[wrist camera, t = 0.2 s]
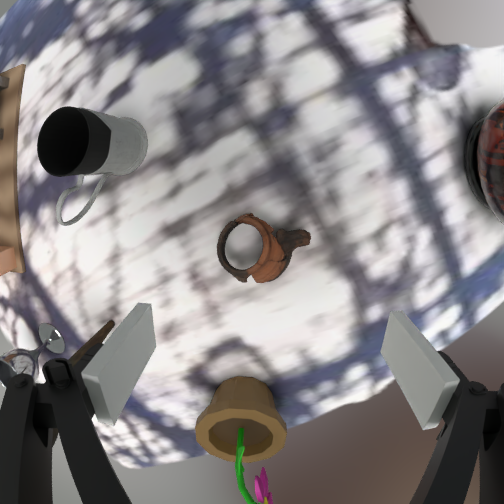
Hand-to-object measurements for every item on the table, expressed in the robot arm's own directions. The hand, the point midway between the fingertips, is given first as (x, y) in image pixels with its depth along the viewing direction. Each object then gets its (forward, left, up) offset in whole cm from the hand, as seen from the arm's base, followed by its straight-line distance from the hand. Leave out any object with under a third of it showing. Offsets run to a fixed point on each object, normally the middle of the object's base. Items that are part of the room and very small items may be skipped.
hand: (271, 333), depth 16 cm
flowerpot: (+30, -2, -28) cm, 41 cm away
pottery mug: (+2, 0, -28) cm, 28 cm away
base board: (-11, -50, -28) cm, 58 cm away
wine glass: (+23, -41, -28) cm, 55 cm away
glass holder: (-9, -22, -28) cm, 37 cm away
